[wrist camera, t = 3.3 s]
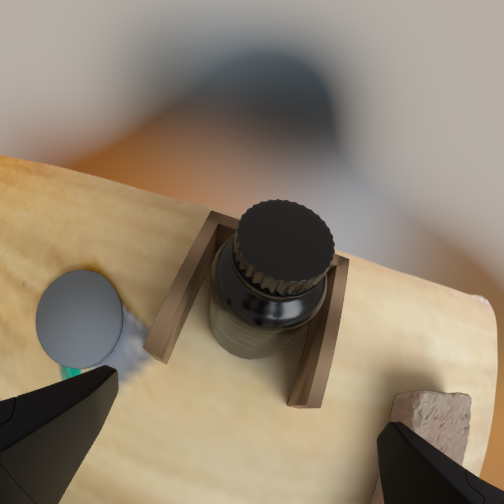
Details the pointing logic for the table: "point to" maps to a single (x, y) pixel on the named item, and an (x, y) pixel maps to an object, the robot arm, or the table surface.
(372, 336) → the table surface
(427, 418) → the brick
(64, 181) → the table surface
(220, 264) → the supplement bottle
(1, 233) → the table surface
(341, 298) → the wooden u-shaped frame
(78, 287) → the coaster
